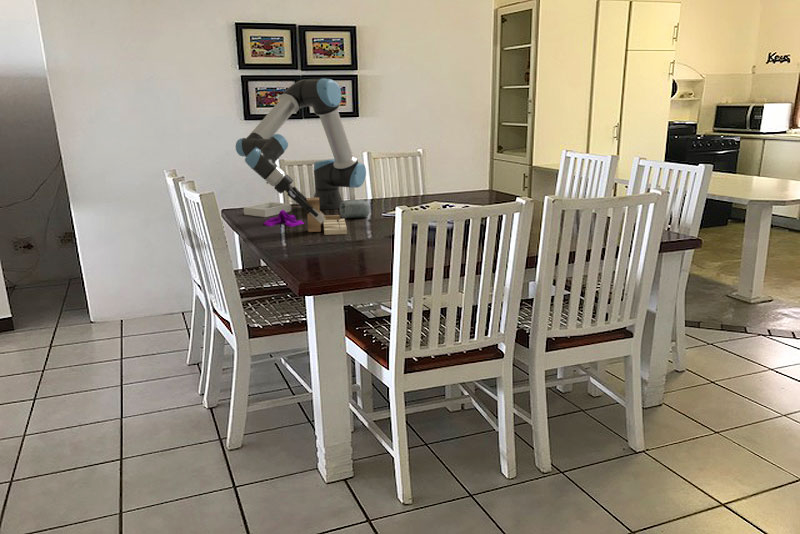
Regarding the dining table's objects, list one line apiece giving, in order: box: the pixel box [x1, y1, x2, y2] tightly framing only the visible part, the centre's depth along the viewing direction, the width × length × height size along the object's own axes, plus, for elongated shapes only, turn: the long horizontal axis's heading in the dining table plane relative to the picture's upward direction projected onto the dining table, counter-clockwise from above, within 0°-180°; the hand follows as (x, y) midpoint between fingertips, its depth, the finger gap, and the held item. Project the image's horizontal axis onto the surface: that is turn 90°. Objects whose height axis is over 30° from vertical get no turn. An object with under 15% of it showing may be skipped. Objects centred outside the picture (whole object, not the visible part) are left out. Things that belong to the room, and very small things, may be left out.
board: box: [322, 218, 348, 236], centre depth 260 cm, size 22×9×2 cm, turn 8°
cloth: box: [263, 210, 305, 228], centre depth 276 cm, size 22×19×6 cm
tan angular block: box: [306, 197, 341, 233], centre depth 255 cm, size 5×13×13 cm, turn 97°
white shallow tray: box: [243, 201, 292, 218], centre depth 298 cm, size 17×14×4 cm
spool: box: [339, 199, 371, 220], centre depth 282 cm, size 14×10×10 cm
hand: (323, 219), depth 256 cm, fingers closed on tan angular block, 5 cm apart
